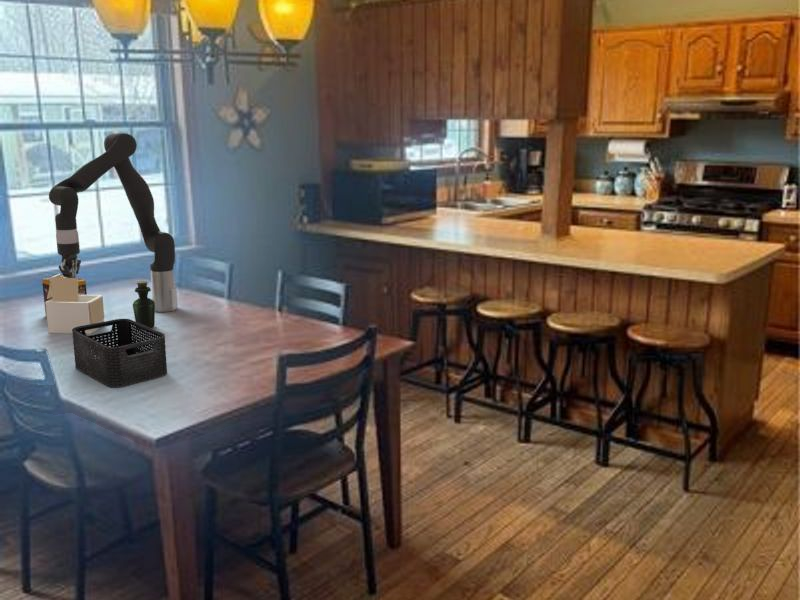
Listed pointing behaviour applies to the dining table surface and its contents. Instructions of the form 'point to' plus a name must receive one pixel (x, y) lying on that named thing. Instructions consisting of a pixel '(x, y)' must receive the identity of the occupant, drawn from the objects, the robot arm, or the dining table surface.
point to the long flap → (65, 289)
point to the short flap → (51, 286)
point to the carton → (74, 314)
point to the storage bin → (120, 353)
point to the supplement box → (47, 281)
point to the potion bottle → (144, 306)
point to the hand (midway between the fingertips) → (72, 286)
